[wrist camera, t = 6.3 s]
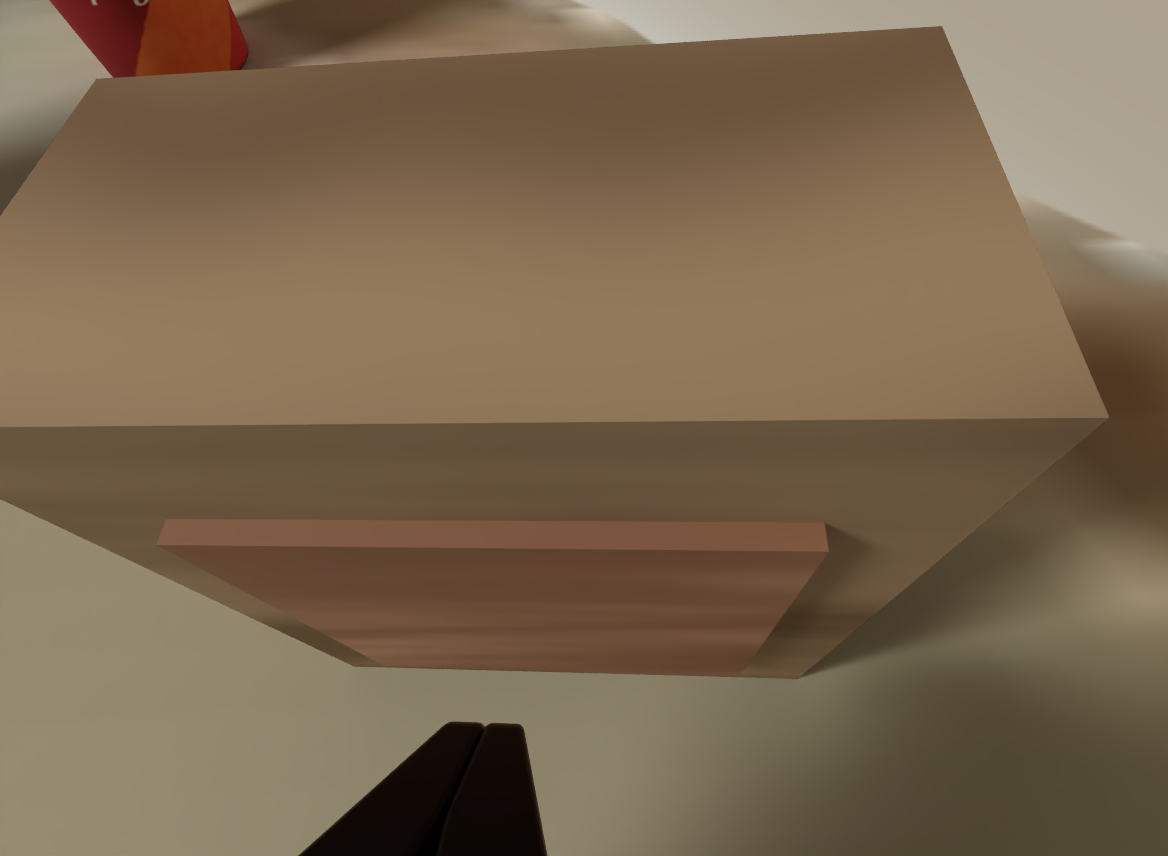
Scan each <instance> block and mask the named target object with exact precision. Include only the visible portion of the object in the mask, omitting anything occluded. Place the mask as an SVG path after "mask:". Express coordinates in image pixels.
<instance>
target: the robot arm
mask: <svg viewBox="0 0 1168 856" xmlns="http://www.w3.org/2000/svg"><path fill="white" fill-rule="evenodd" d="M299 856H547V851H546V845H545V840H544V835H543V829H542V824H541V818H540V813H539V808H538V802H537V797H536V791H535V786H534V781H533V775H532V770H531V765H530V759H529V754H528V748H527V743H526V738H525V732H524V729H523V727H522V726H521V725H520V724H505V723H490V724H489V725H487V726H486V727H485V726H484V725H483V724H481V723H478V722H449V723H447V724H445V725H444V726H443V727H442V728H440V729H439V730H438V731H437V732H436V733H435V734H434V735H433V736H431V737H430V738H429V739H428V740H427V741H426V742H425V743H424V744H423V745H421V746H420V747H419V748H418V749H417V750H416V751H415V752H414V753H412V754H411V755H410V756H409V757H408V758H407V759H406V760H405V761H404V762H402V763H401V764H400V765H399V766H398V767H397V768H396V769H395V770H393V771H392V772H391V773H390V774H389V775H388V776H387V777H386V778H385V779H383V780H382V781H381V782H380V783H379V784H378V785H377V786H376V787H374V788H373V789H372V790H371V791H370V792H369V793H368V794H367V795H366V796H364V797H363V798H362V799H361V800H360V801H359V802H358V803H357V804H355V805H354V806H353V807H352V808H351V809H350V810H349V811H348V812H347V813H345V814H344V815H343V816H342V817H341V818H340V819H339V820H338V821H337V822H335V823H334V824H333V825H332V826H331V827H330V828H329V829H328V830H326V831H325V832H324V833H323V834H322V835H321V836H320V837H319V838H318V839H316V840H315V841H314V842H313V843H312V844H311V845H310V846H309V847H307V848H306V849H305V850H304V851H303V852H302V853H301V854H300V855H299Z"/></svg>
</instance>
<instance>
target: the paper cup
mask: <svg viewBox="0 0 1168 856" xmlns="http://www.w3.org/2000/svg"><path fill="white" fill-rule="evenodd" d="M50 2H51V3H52V4H53V5H54V6H55V8H56V9H57V10H58V11H59V13H60V14H61V15H62V16H63V17H64V19H65V20H66V21H67V22H68V24H69V25H70V26H71V27H72V28H73V30H74V31H75V32H76V33H77V34H78V36H79V37H80V38H81V39H82V41H83V42H84V43H85V44H86V45H87V47H88V48H89V49H90V50H91V51H92V53H93V54H94V55H95V56H96V57H97V59H98V60H99V61H100V62H101V63H102V65H103V66H104V67H105V68H106V69H107V71H108V72H109V73H110V74H111V75H112V77H113V78H121V77H137V76H153V75H169V74H185V73H201V72H217V71H233V70H240V69H241V68H242V66H243V65H244V63H245V61H246V59H247V56H248V48H247V44H246V41H245V39H244V36H243V34H242V31H241V29H240V26H239V24H238V22H237V20H236V17H235V15H234V13H233V11H232V8H231V6H230V4H229V2H228V0H50Z"/></svg>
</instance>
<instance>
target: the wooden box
mask: <svg viewBox="0 0 1168 856" xmlns="http://www.w3.org/2000/svg"><path fill="white" fill-rule="evenodd" d="M1108 418H1109V415H1108V413H1107V411H1106V408H1105V406H1104V404H1103V401H1102V399H1101V397H1100V394H1099V392H1098V390H1097V387H1096V385H1095V383H1094V380H1093V378H1092V376H1091V373H1090V371H1089V369H1088V366H1087V364H1086V362H1085V359H1084V357H1083V355H1082V352H1081V350H1080V348H1079V345H1078V343H1077V341H1076V338H1075V336H1074V334H1073V331H1072V329H1071V327H1070V324H1069V322H1068V320H1067V317H1066V315H1065V313H1064V310H1063V308H1062V306H1061V303H1060V301H1059V299H1058V296H1057V294H1056V292H1055V289H1054V287H1053V285H1052V282H1051V280H1050V278H1049V275H1048V273H1047V271H1046V268H1045V266H1044V264H1043V261H1042V259H1041V257H1040V254H1039V252H1038V250H1037V247H1036V245H1035V243H1034V240H1033V238H1032V236H1031V233H1030V231H1029V229H1028V226H1027V224H1026V222H1025V219H1024V217H1023V215H1022V212H1021V210H1020V208H1019V205H1018V203H1017V201H1016V198H1015V196H1014V194H1013V191H1012V189H1011V187H1010V184H1009V182H1008V180H1007V177H1006V175H1005V173H1004V170H1003V168H1002V166H1001V163H1000V161H999V159H998V156H997V154H996V151H995V149H994V147H993V144H992V142H991V140H990V137H989V135H988V133H987V131H986V128H985V126H984V124H983V121H982V119H981V117H980V114H979V112H978V110H977V107H976V105H975V103H974V100H973V98H972V95H971V93H970V91H969V89H968V86H967V84H966V82H965V79H964V77H963V74H962V72H961V70H960V67H959V65H958V63H957V60H956V58H955V56H954V54H953V51H952V49H951V47H950V44H949V42H948V39H947V37H946V35H945V33H944V30H943V28H942V26H938V27H922V28H907V29H891V30H874V31H858V32H842V33H828V34H810V35H795V36H778V37H762V38H747V39H730V40H715V41H699V42H682V43H667V44H650V45H634V46H618V47H602V48H586V49H570V50H554V51H538V52H522V53H506V54H490V55H474V56H458V57H442V58H426V59H410V60H394V61H378V62H362V63H346V64H329V65H313V66H297V67H281V68H265V69H249V70H233V71H217V72H201V73H185V74H169V75H153V76H137V77H121V78H105V79H96V80H95V82H94V83H93V84H92V86H91V87H90V89H89V90H88V92H87V93H86V94H85V96H84V97H83V99H82V100H81V102H80V103H79V104H78V106H77V107H76V109H75V110H74V112H73V113H72V114H71V116H70V117H69V119H68V120H67V121H66V123H65V124H64V126H63V127H62V129H61V130H60V131H59V133H58V134H57V136H56V137H55V139H54V140H53V141H52V143H51V144H50V146H49V147H48V149H47V150H46V151H45V153H44V154H43V156H42V157H41V159H40V160H39V161H38V163H37V164H36V166H35V167H34V168H33V170H32V171H31V173H30V174H29V176H28V177H27V178H26V180H25V181H24V183H23V184H22V186H21V187H20V188H19V190H18V191H17V193H16V194H15V196H14V197H13V198H12V200H11V201H10V203H9V204H8V206H7V207H6V208H5V210H4V211H3V213H2V214H1V215H0V499H1V500H3V501H6V502H8V503H10V504H12V505H14V506H16V507H18V508H20V509H22V510H25V511H27V512H29V513H31V514H33V515H35V516H37V517H39V518H41V519H44V520H46V521H48V522H50V523H52V524H54V525H56V526H58V527H60V528H63V529H65V530H67V531H69V532H71V533H73V534H75V535H77V536H80V537H82V538H84V539H86V540H88V541H90V542H92V543H94V544H96V545H99V546H101V547H103V548H105V549H107V550H109V551H111V552H113V553H115V554H118V555H120V556H122V557H124V558H126V559H128V560H130V561H132V562H134V563H137V564H139V565H141V566H143V567H145V568H147V569H149V570H151V571H154V572H156V573H158V574H160V575H162V576H164V577H166V578H168V579H170V580H173V581H175V582H177V583H179V584H181V585H183V586H185V587H187V588H189V589H192V590H194V591H196V592H198V593H200V594H202V595H204V596H206V597H208V598H211V599H213V600H215V601H217V602H219V603H221V604H223V605H225V606H227V607H230V608H232V609H234V610H236V611H238V612H240V613H242V614H244V615H247V616H249V617H251V618H253V619H255V620H257V621H259V622H261V623H263V624H266V625H268V626H270V627H272V628H274V629H276V630H278V631H280V632H282V633H285V634H287V635H289V636H291V637H293V638H295V639H297V640H299V641H301V642H304V643H306V644H308V645H310V646H312V647H314V648H316V649H318V650H321V651H323V652H325V653H327V654H329V655H331V656H333V657H335V658H337V659H340V660H342V661H344V662H346V663H348V664H350V665H352V666H357V667H393V668H429V669H466V670H502V671H538V672H574V673H610V674H647V675H683V676H719V677H755V678H791V679H798V678H799V677H801V676H802V675H803V674H804V673H805V672H806V671H808V670H809V669H810V668H811V667H812V666H814V665H815V664H816V663H817V662H818V661H820V660H821V659H822V658H823V657H824V656H826V655H827V654H828V653H829V652H830V651H832V650H833V649H834V648H835V647H836V646H837V645H839V644H840V643H841V642H842V641H843V640H845V639H846V638H847V637H848V636H849V635H851V634H852V633H853V632H854V631H855V630H857V629H858V628H859V627H860V626H861V625H863V624H864V623H865V622H866V621H867V620H869V619H870V618H871V617H872V616H873V615H874V614H876V613H877V612H878V611H879V610H880V609H882V608H883V607H884V606H885V605H886V604H888V603H889V602H890V601H891V600H892V599H894V598H895V597H896V596H897V595H898V594H900V593H901V592H902V591H903V590H904V589H906V588H907V587H908V586H909V585H910V584H911V583H913V582H914V581H915V580H916V579H917V578H919V577H920V576H921V575H922V574H923V573H925V572H926V571H927V570H928V569H929V568H931V567H932V566H933V565H934V564H935V563H937V562H938V561H939V560H940V559H941V558H943V557H944V556H945V555H946V554H947V553H948V552H950V551H951V550H952V549H953V548H954V547H956V546H957V545H958V544H959V543H960V542H962V541H963V540H964V539H965V538H966V537H968V536H969V535H970V534H971V533H972V532H974V531H975V530H976V529H977V528H978V527H980V526H981V525H982V524H983V523H984V522H985V521H987V520H988V519H989V518H990V517H991V516H993V515H994V514H995V513H996V512H997V511H999V510H1000V509H1001V508H1002V507H1003V506H1005V505H1006V504H1007V503H1008V502H1009V501H1011V500H1012V499H1013V498H1014V497H1015V496H1017V495H1018V494H1019V493H1020V492H1021V491H1022V490H1024V489H1025V488H1026V487H1027V486H1028V485H1030V484H1031V483H1032V482H1033V481H1034V480H1036V479H1037V478H1038V477H1039V476H1040V475H1042V474H1043V473H1044V472H1045V471H1046V470H1048V469H1049V468H1050V467H1051V466H1052V465H1054V464H1055V463H1056V462H1057V461H1058V460H1059V459H1061V458H1062V457H1063V456H1064V455H1065V454H1067V453H1068V452H1069V451H1070V450H1071V449H1073V448H1074V447H1075V446H1076V445H1077V444H1079V443H1080V442H1081V441H1082V440H1083V439H1085V438H1086V437H1087V436H1088V435H1089V434H1091V433H1092V432H1093V431H1094V430H1095V429H1096V428H1098V427H1099V426H1100V425H1101V424H1102V423H1104V422H1105V421H1106V420H1107V419H1108Z"/></svg>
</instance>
